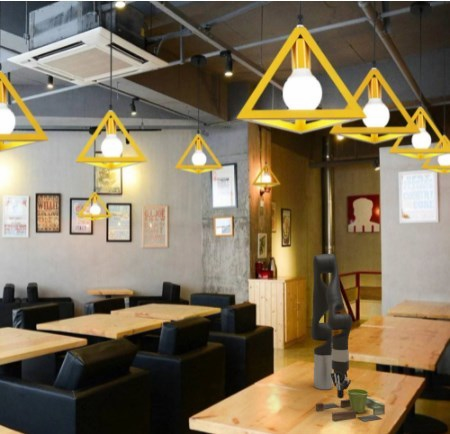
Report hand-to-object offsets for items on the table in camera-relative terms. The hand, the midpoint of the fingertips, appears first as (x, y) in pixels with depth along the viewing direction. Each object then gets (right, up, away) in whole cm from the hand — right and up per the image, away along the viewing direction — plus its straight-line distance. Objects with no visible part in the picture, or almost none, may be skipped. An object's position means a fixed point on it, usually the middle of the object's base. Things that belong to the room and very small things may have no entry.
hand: (340, 397), depth 232 cm
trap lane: (+4, -7, +1) cm, 8 cm away
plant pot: (+8, -7, +2) cm, 11 cm away
